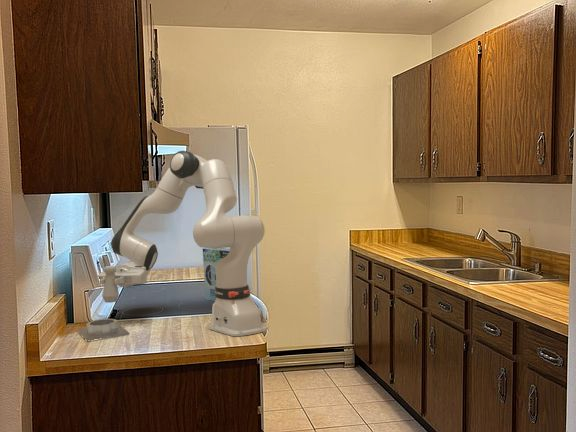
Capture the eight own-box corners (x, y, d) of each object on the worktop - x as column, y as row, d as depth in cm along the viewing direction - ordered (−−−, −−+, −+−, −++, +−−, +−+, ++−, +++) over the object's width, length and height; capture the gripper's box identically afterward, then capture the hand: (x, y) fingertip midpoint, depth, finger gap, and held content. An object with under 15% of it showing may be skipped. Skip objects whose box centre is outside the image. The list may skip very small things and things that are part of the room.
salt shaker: (113, 303, 198) (113, 266, 198) (99, 302, 199) (98, 266, 199) (122, 300, 204) (121, 265, 204) (107, 300, 205) (106, 265, 205)
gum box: (241, 303, 233) (238, 249, 231) (231, 306, 229) (229, 250, 228) (213, 297, 247) (211, 246, 245) (204, 299, 244) (201, 247, 242)
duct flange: (129, 334, 191) (128, 323, 191) (86, 342, 184) (86, 330, 184) (116, 325, 205) (116, 314, 205) (76, 331, 198) (76, 321, 197)
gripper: (99, 267, 215) (81, 273, 201) (149, 266, 212) (134, 273, 198) (100, 283, 216) (82, 291, 202) (150, 283, 212) (135, 290, 199)
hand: (108, 282), depth 200 cm, fingers closed on salt shaker, 3 cm apart
